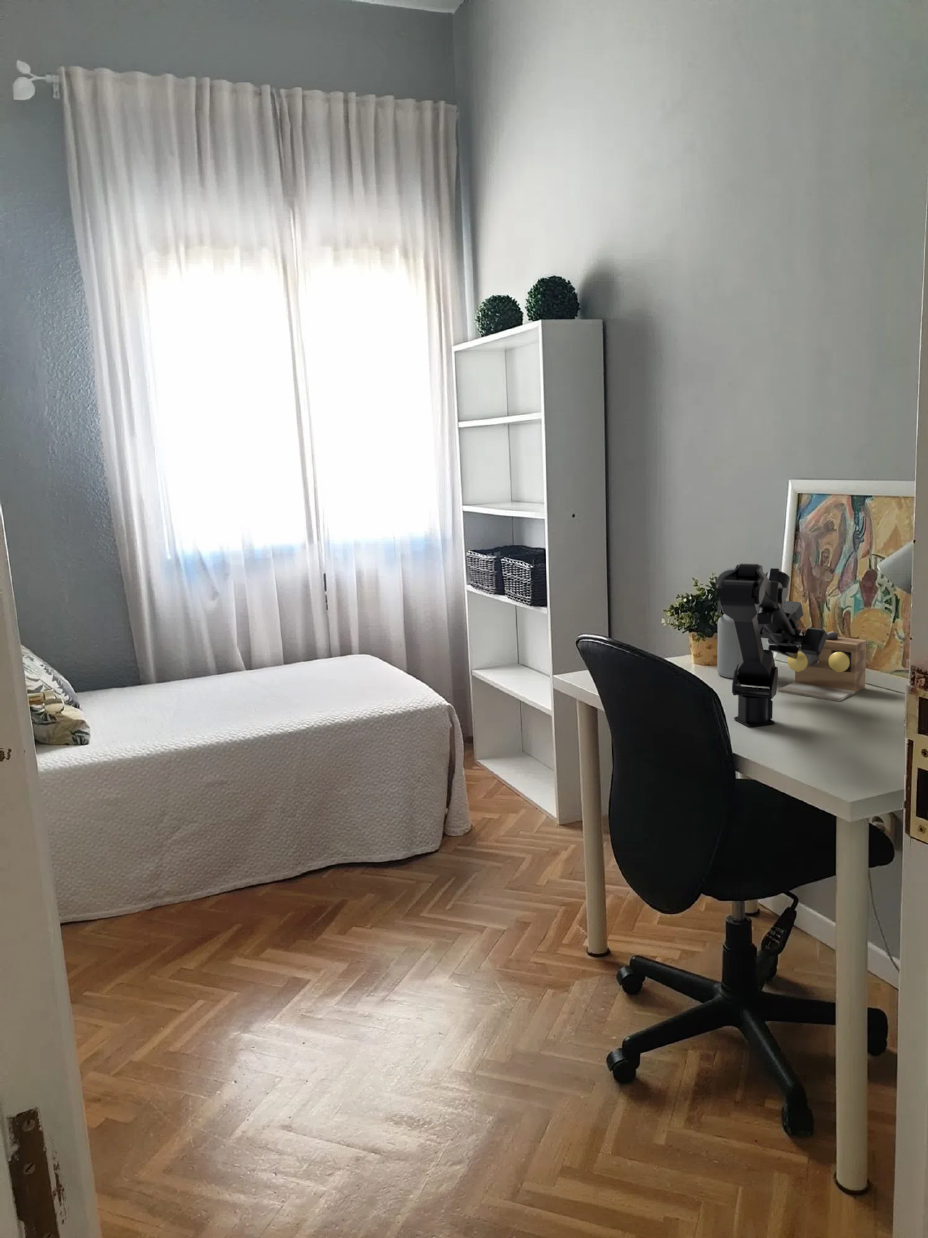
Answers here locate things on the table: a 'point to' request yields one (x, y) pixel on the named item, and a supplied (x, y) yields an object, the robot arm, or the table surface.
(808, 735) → the table surface
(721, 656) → the water bottle
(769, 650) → the robot arm
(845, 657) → the knob right
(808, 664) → the knob left
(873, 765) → the table surface
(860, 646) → the console
